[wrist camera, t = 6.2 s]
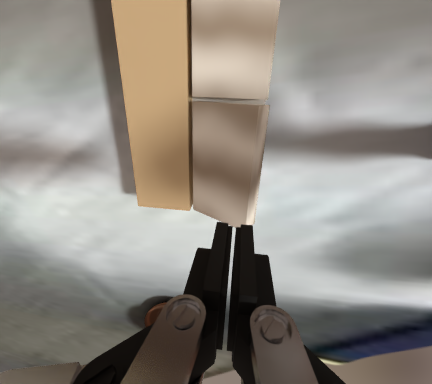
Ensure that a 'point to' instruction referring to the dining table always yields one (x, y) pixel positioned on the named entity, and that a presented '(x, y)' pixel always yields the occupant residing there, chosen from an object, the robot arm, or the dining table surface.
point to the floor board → (159, 97)
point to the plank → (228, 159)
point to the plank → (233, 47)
